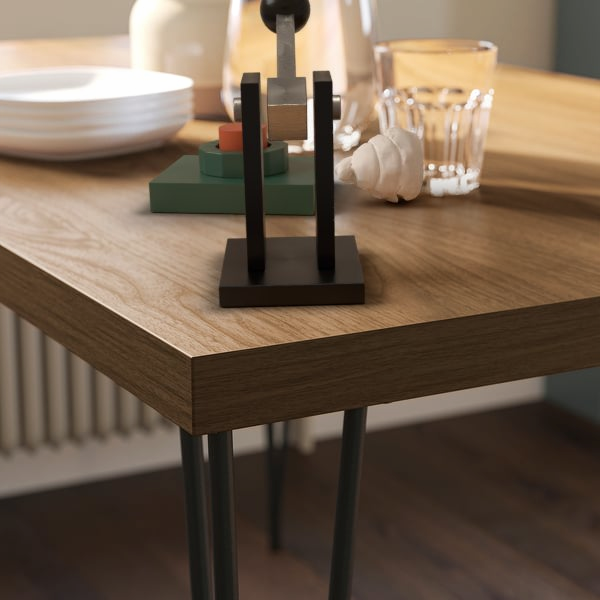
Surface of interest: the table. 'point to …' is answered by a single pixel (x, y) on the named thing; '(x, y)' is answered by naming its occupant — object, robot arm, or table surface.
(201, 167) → the button block
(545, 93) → the table surface
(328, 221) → the bracket
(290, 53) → the lever
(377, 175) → the spiral seashell
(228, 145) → the button
